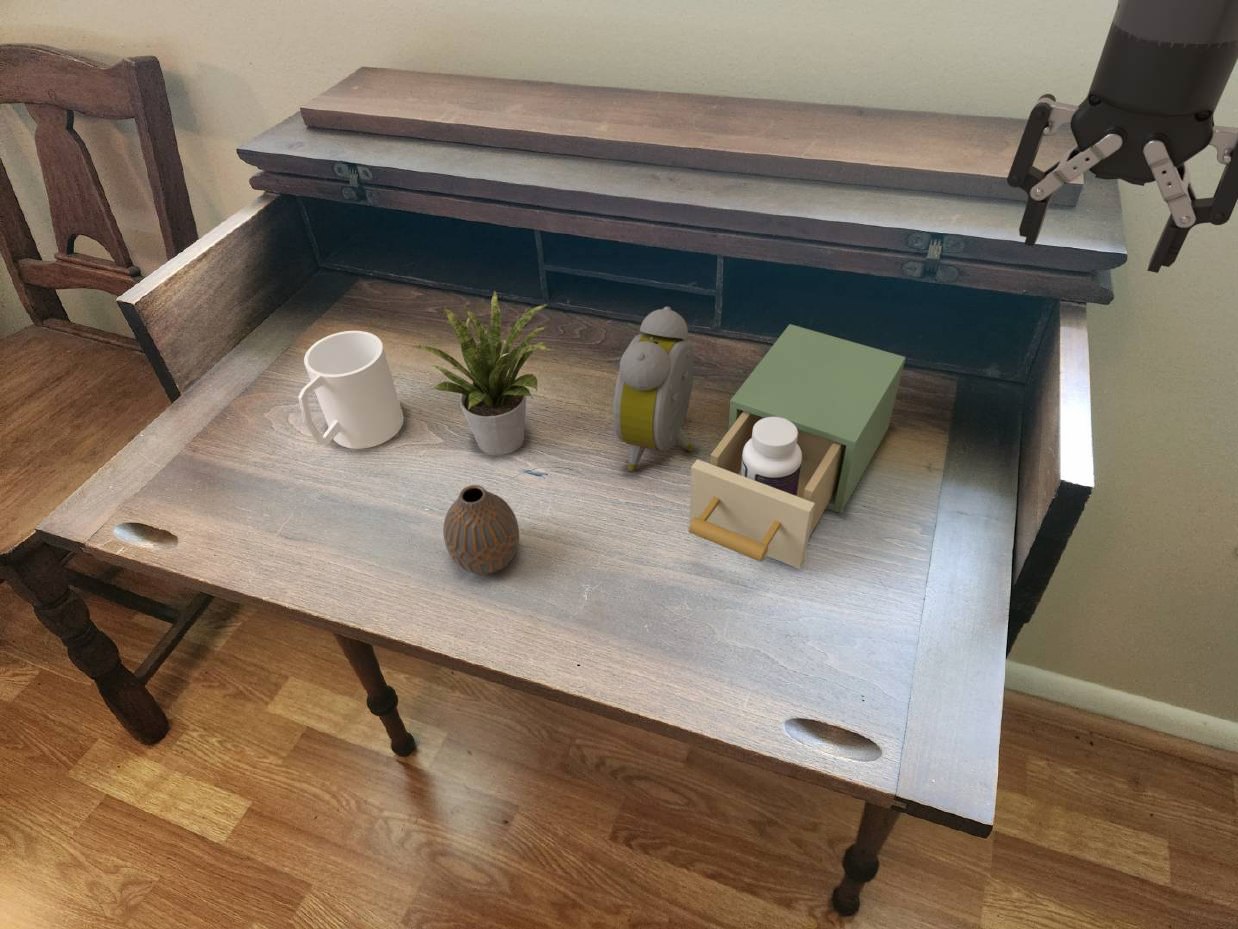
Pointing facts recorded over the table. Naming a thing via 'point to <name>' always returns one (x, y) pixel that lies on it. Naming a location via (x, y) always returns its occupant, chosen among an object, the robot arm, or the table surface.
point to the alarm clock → (654, 386)
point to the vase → (481, 531)
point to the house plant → (492, 380)
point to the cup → (351, 390)
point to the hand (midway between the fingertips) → (1091, 253)
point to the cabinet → (826, 395)
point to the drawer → (762, 497)
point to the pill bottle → (773, 455)
